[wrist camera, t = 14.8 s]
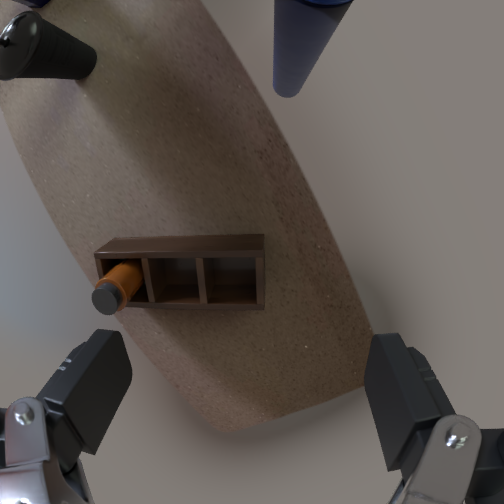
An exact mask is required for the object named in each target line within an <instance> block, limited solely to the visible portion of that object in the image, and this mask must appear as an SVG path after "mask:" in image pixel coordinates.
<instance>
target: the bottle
mask: <svg viewBox="0 0 504 504" xmlns="http://www.w3.org/2000/svg"><path fill="white" fill-rule="evenodd" d="M13 1H15V2H18V3H21V4H24V5H26V6H29V7H34V8H41V7H43V6H44V5H45V4H46V3H48V2H49V1H50V0H13Z"/></svg>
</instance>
